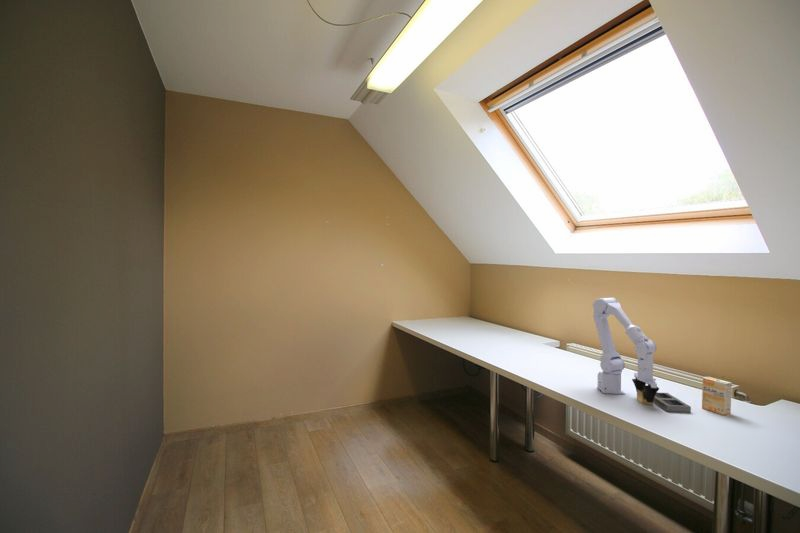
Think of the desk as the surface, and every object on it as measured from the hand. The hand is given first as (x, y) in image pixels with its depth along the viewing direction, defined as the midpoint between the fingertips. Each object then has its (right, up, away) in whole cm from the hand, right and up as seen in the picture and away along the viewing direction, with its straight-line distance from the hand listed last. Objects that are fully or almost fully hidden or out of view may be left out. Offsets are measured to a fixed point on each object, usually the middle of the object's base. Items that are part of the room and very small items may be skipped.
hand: (644, 398), depth 165 cm
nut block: (0, -2, 0) cm, 2 cm away
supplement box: (+23, -2, -10) cm, 25 cm away
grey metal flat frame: (+8, -2, -3) cm, 8 cm away
